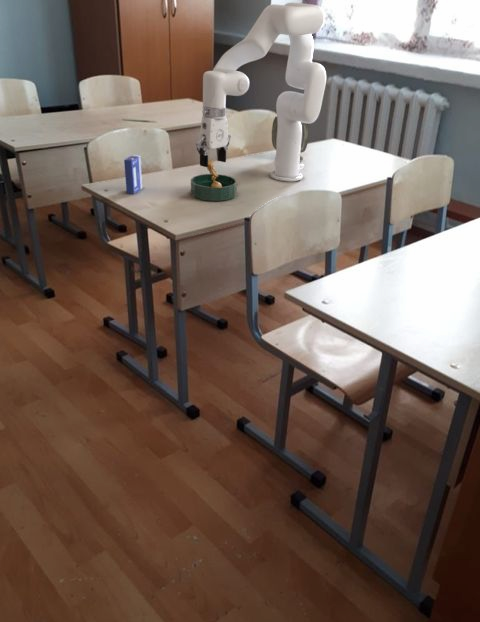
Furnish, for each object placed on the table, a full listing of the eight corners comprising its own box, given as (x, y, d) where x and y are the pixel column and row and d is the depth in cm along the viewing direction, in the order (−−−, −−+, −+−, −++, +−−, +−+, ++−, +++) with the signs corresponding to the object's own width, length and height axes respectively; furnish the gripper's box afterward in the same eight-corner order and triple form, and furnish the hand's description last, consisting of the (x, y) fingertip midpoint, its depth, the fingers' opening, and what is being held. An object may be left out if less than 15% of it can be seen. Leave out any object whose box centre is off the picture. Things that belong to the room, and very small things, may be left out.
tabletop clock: (273, 161, 255) (277, 99, 241) (269, 156, 262) (272, 95, 249) (306, 161, 258) (311, 100, 244) (301, 156, 265) (306, 96, 252)
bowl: (211, 184, 223) (211, 171, 220) (245, 194, 216) (245, 180, 213) (181, 194, 212) (181, 180, 209) (216, 205, 204) (216, 190, 202)
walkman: (133, 194, 209) (131, 159, 202) (126, 193, 209) (123, 158, 203) (143, 187, 215) (141, 154, 209) (135, 186, 216) (133, 153, 209)
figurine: (226, 196, 212) (226, 161, 205) (210, 197, 209) (210, 163, 203) (216, 189, 218) (217, 155, 211) (201, 190, 215) (201, 157, 209)
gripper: (205, 116, 191) (204, 170, 200) (238, 111, 203) (236, 161, 212) (188, 113, 194) (188, 165, 203) (221, 107, 206) (220, 157, 215)
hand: (213, 163), depth 208 cm, fingers open, 9 cm apart
